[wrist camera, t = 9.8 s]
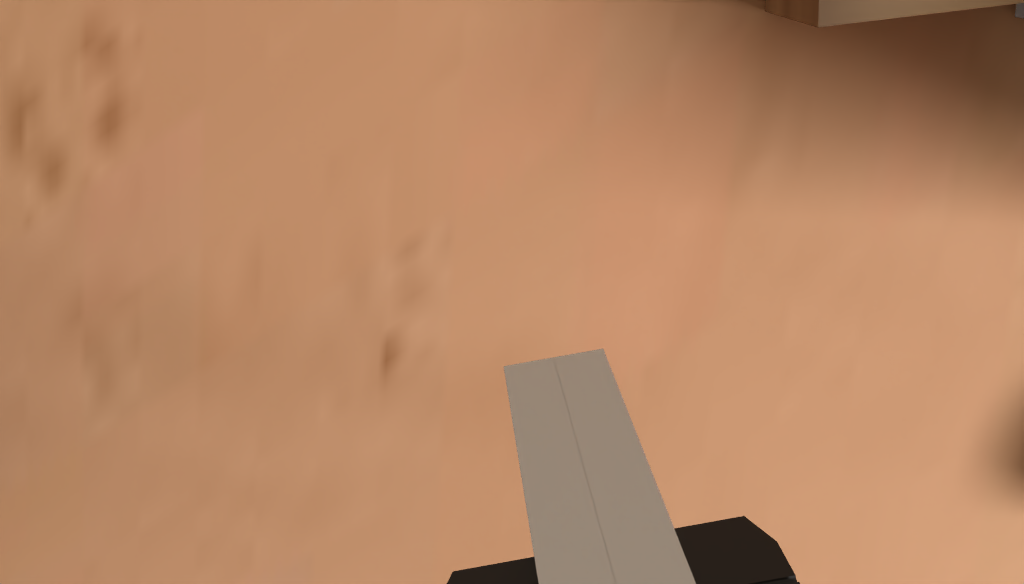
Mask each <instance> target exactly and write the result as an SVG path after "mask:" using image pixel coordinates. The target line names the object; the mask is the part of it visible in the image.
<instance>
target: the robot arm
mask: <svg viewBox="0 0 1024 584" xmlns="http://www.w3.org/2000/svg"><path fill="white" fill-rule="evenodd" d="M504 371H505V377H506V384H507V390H508V396H509V402H510V408H511V415H512V421H513V427H514V433H515V440H516V446H517V452H518V458H519V464H520V471H521V477H522V483H523V489H524V496H525V502H526V508H527V514H528V520H529V527H530V533H531V539H532V545H533V552H534V557H531V558H525V559H520V560H514V561H509V562H503V563H498V564H492V565H487V566H481V567H476V568H470V569H465V570H459V571H454V572H452V575H451V577H450V579H449V581H448V583H447V584H800V583H799V582H797V580H796V576H795V574H794V572H793V570H792V568H791V566H790V565H789V563H788V561H787V559H786V557H785V556H784V554H783V552H782V550H781V548H780V546H779V545H778V543H777V541H775V540H774V539H773V538H772V537H770V536H769V535H768V534H766V533H765V532H764V531H763V530H761V529H760V528H759V527H757V526H756V525H755V524H754V523H752V522H751V521H750V520H748V519H747V518H746V517H745V516H742V517H736V518H731V519H725V520H719V521H714V522H708V523H703V524H697V525H692V526H686V527H681V528H675V529H674V527H673V524H672V522H671V519H670V517H669V514H668V512H667V509H666V507H665V504H664V502H663V499H662V496H661V494H660V491H659V489H658V486H657V484H656V481H655V479H654V476H653V474H652V471H651V469H650V466H649V464H648V461H647V459H646V456H645V454H644V451H643V448H642V446H641V443H640V441H639V438H638V436H637V433H636V431H635V428H634V426H633V423H632V421H631V418H630V416H629V413H628V411H627V408H626V405H625V403H624V400H623V398H622V395H621V393H620V390H619V388H618V385H617V383H616V380H615V378H614V375H613V373H612V370H611V368H610V365H609V362H608V360H607V357H606V355H605V352H604V350H603V349H599V350H593V351H587V352H582V353H576V354H570V355H565V356H559V357H554V358H548V359H542V360H537V361H531V362H525V363H520V364H514V365H508V366H504Z"/></svg>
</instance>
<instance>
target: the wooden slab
mask: <svg viewBox="0 0 1024 584" xmlns="http://www.w3.org/2000/svg"><path fill="white" fill-rule="evenodd" d="M1018 3H1024V0H765V11H766V12H769V13H773V14H776V15H779V16H782V17H786V18H789V19H792V20H796V21H799V22H802V23H805V24H809V25H812V26H815V27H826V26H834V25H843V24H851V23H859V22H868V21H876V20H884V19H893V18H901V17H910V16H918V15H926V14H935V13H943V12H951V11H960V10H968V9H976V8H985V7H993V6H1002V5H1010V4H1018Z"/></svg>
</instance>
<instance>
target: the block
mask: <svg viewBox="0 0 1024 584" xmlns="http://www.w3.org/2000/svg"><path fill="white" fill-rule="evenodd" d="M1015 17H1018V18H1024V3H1018V4H1016V11H1015Z"/></svg>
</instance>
